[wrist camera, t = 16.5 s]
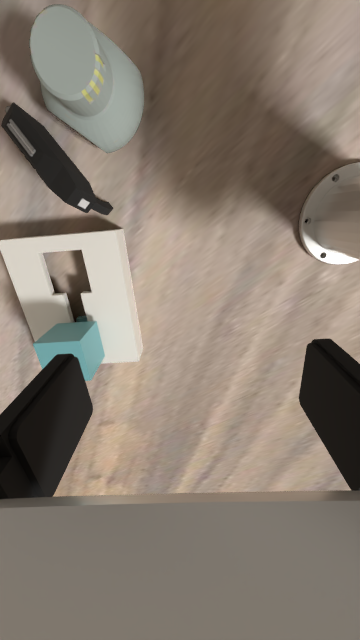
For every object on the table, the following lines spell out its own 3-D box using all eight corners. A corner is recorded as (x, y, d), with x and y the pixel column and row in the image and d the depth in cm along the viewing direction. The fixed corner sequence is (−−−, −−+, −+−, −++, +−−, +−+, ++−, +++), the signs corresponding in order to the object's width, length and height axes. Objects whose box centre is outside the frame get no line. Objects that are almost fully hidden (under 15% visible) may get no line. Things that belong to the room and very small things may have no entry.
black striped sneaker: (66, 141, 35) (-8, 80, 25) (130, 218, 32) (72, 182, 23) (56, 157, 36) (-20, 105, 26) (116, 233, 33) (56, 205, 23)
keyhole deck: (123, 228, 34) (115, 230, 30) (143, 348, 42) (139, 361, 39) (16, 237, 35) (-4, 240, 31) (56, 353, 43) (44, 366, 39)
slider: (106, 308, 39) (79, 340, 29) (113, 340, 42) (91, 380, 32) (71, 310, 40) (32, 343, 30) (80, 342, 42) (47, 382, 32)
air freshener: (47, 109, 29) (-17, 61, 20) (74, 29, 26) (13, -72, 17) (126, 167, 31) (101, 148, 22) (159, 99, 28) (146, 44, 19)
